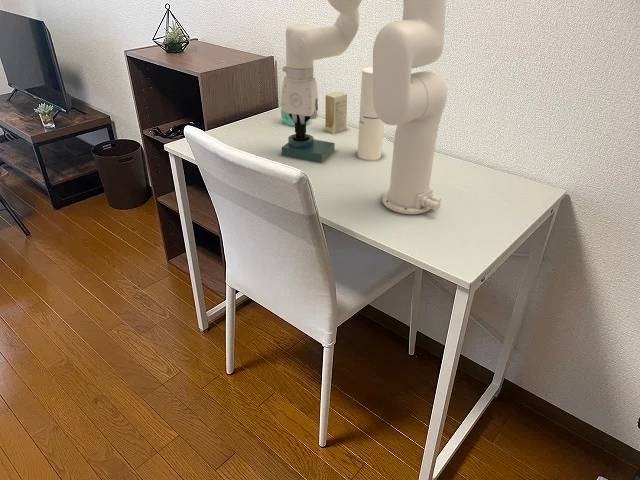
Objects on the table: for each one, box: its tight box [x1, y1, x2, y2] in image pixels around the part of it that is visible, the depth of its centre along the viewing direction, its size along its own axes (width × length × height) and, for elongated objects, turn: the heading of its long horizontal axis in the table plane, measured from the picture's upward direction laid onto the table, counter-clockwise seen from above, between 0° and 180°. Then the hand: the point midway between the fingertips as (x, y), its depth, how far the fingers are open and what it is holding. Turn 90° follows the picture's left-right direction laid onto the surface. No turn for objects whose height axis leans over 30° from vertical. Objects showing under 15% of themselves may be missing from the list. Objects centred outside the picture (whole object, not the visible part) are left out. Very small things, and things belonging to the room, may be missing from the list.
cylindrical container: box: [357, 66, 385, 161], centre depth 141 cm, size 7×7×25 cm
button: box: [292, 133, 309, 141], centre depth 147 cm, size 5×5×2 cm
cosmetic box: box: [324, 91, 348, 134], centre depth 163 cm, size 6×4×12 cm
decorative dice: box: [280, 107, 310, 127], centre depth 170 cm, size 8×8×8 cm
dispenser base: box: [281, 133, 336, 164], centre depth 148 cm, size 13×10×4 cm
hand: (300, 135), depth 147 cm, fingers closed
